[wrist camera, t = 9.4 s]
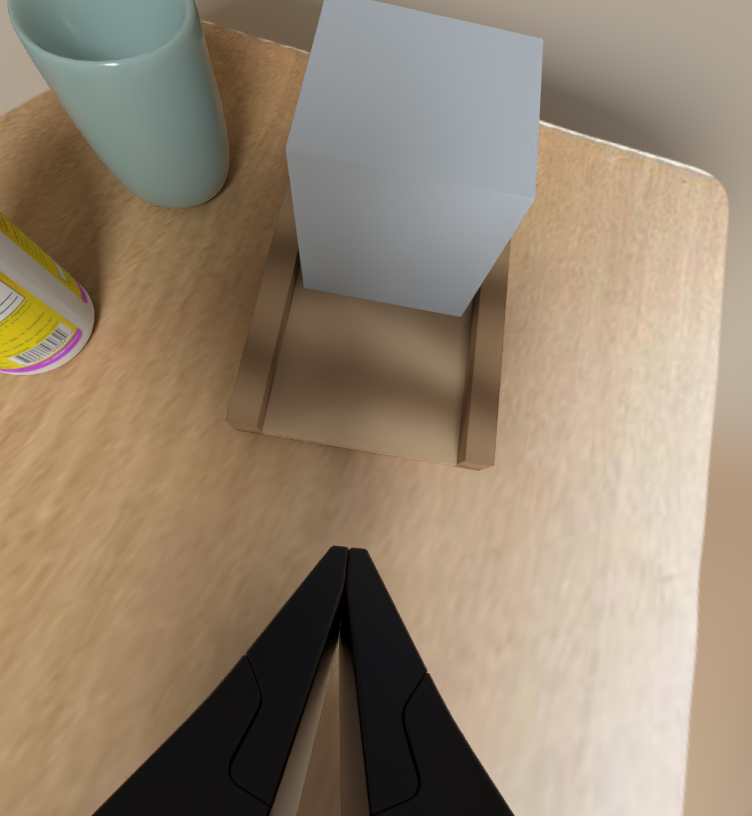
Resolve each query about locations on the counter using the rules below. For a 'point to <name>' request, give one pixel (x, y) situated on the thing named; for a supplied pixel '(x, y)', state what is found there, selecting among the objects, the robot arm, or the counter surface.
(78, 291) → the supplement bottle
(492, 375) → the chute
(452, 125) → the block
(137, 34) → the cup
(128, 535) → the counter surface
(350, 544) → the counter surface
